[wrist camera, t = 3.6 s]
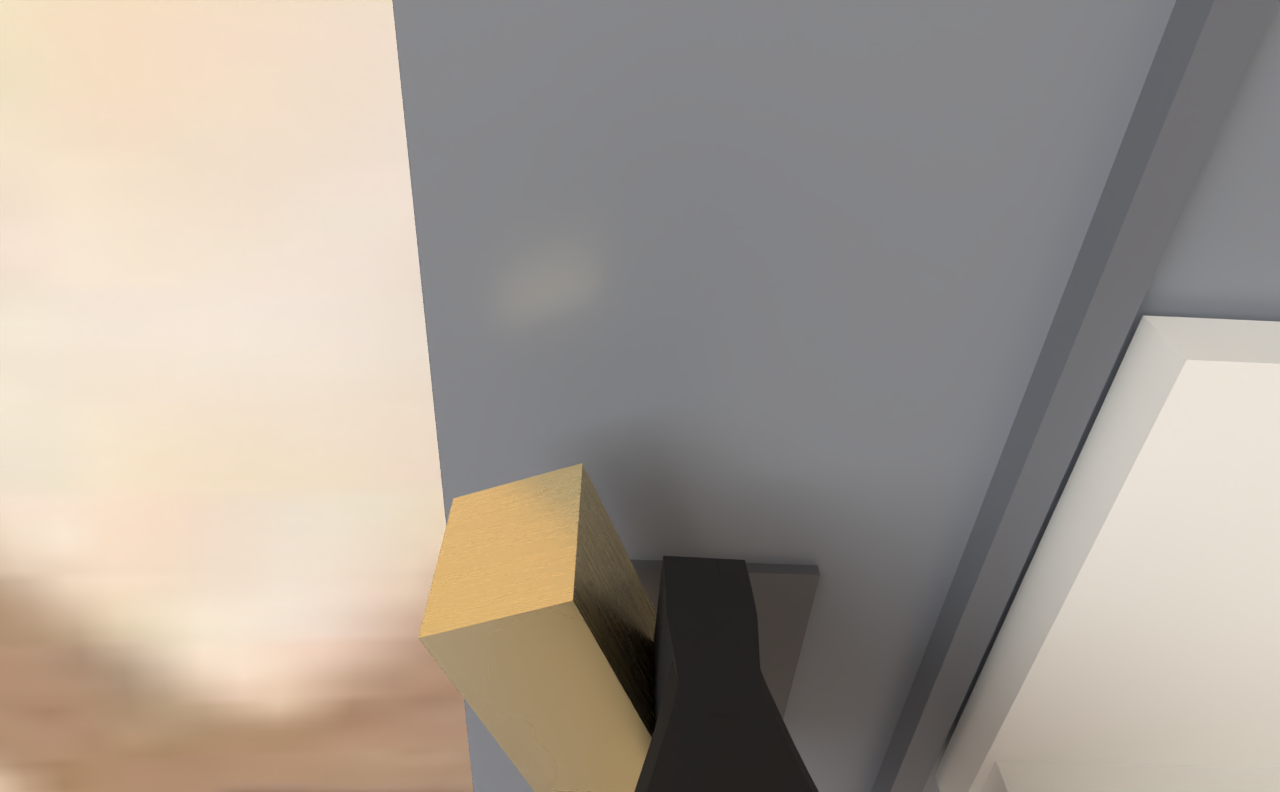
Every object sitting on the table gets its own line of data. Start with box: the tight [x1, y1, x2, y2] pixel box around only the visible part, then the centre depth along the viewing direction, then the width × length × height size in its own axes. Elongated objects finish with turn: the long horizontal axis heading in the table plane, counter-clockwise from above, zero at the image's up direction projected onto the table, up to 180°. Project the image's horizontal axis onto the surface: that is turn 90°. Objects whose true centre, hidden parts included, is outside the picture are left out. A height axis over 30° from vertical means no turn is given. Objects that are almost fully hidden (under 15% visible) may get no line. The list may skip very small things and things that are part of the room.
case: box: [392, 0, 1280, 792], centre depth 13 cm, size 20×16×3 cm
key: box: [419, 463, 657, 792], centre depth 11 cm, size 7×2×4 cm, turn 19°
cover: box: [935, 315, 1280, 792], centre depth 12 cm, size 10×6×3 cm, turn 177°
